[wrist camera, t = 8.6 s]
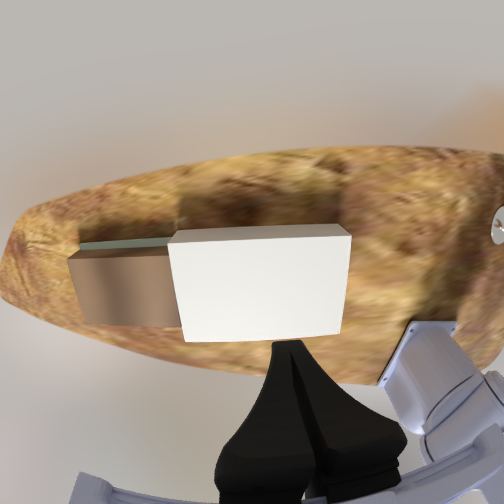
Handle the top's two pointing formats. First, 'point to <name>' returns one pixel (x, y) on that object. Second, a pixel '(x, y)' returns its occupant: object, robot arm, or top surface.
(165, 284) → the tan cardboard slab
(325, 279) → the tray
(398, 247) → the top surface
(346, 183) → the top surface
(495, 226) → the wineglass
